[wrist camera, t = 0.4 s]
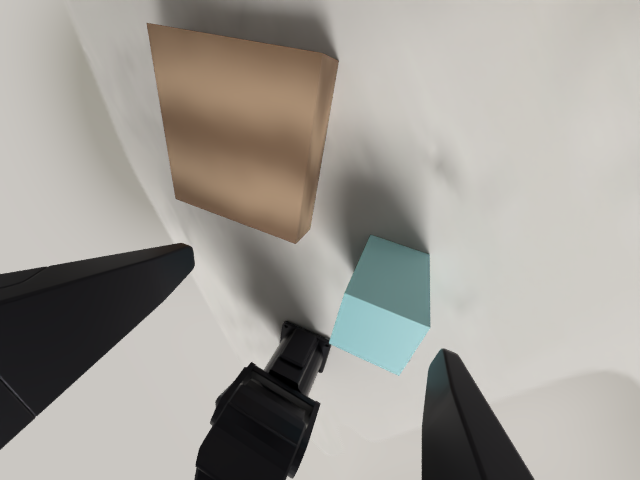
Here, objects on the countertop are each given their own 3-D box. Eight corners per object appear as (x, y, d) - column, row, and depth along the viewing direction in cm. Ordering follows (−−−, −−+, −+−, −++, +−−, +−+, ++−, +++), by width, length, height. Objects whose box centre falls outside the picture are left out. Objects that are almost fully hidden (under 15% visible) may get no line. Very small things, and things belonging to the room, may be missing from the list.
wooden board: (310, 229, 23) (295, 244, 20) (199, 190, 26) (175, 198, 23) (338, 61, 16) (322, 52, 13) (182, 33, 19) (146, 22, 16)
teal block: (407, 297, 22) (398, 375, 16) (356, 277, 24) (328, 343, 17) (429, 254, 20) (430, 327, 13) (370, 234, 21) (344, 292, 14)
